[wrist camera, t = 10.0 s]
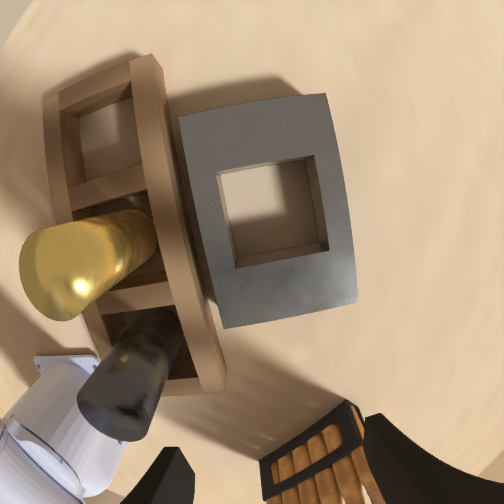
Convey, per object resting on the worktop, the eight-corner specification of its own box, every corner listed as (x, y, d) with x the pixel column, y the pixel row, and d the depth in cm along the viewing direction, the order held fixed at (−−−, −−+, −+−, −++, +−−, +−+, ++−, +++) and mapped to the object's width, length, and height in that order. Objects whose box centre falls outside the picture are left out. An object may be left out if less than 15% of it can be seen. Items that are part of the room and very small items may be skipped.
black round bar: (189, 349, 19) (159, 443, 11) (144, 353, 19) (97, 438, 11) (175, 302, 19) (128, 385, 10) (128, 310, 19) (64, 384, 10)
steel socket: (345, 288, 19) (358, 301, 16) (226, 311, 19) (223, 329, 16) (315, 104, 16) (325, 93, 14) (187, 126, 16) (178, 117, 14)
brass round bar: (163, 258, 18) (99, 316, 9) (115, 268, 18) (36, 324, 9) (150, 203, 17) (71, 218, 8) (102, 216, 17) (10, 240, 9)
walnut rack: (227, 370, 20) (225, 391, 17) (129, 378, 20) (119, 397, 18) (162, 68, 15) (151, 53, 13) (62, 108, 16) (42, 100, 13)
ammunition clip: (346, 398, 21) (396, 514, 9) (358, 407, 21) (408, 515, 9) (258, 460, 22) (263, 565, 11) (272, 466, 23) (281, 567, 11)
